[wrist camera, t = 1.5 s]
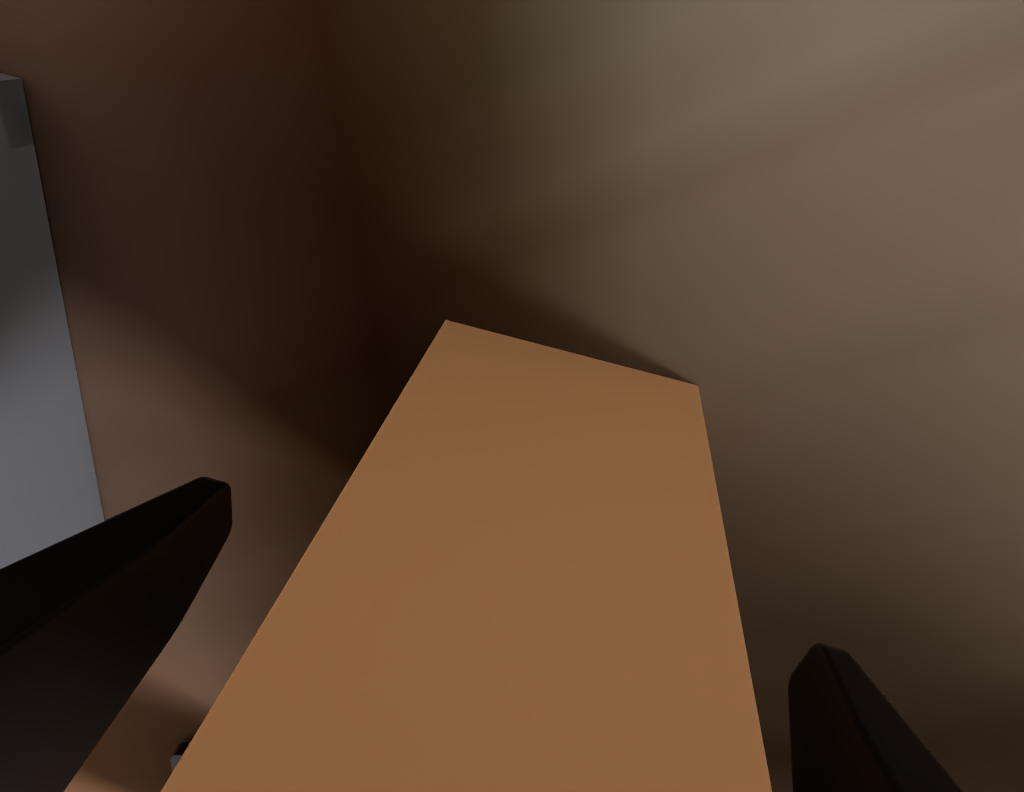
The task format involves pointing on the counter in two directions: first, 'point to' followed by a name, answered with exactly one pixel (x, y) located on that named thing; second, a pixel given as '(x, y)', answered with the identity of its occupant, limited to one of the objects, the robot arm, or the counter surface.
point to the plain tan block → (504, 600)
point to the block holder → (35, 363)
